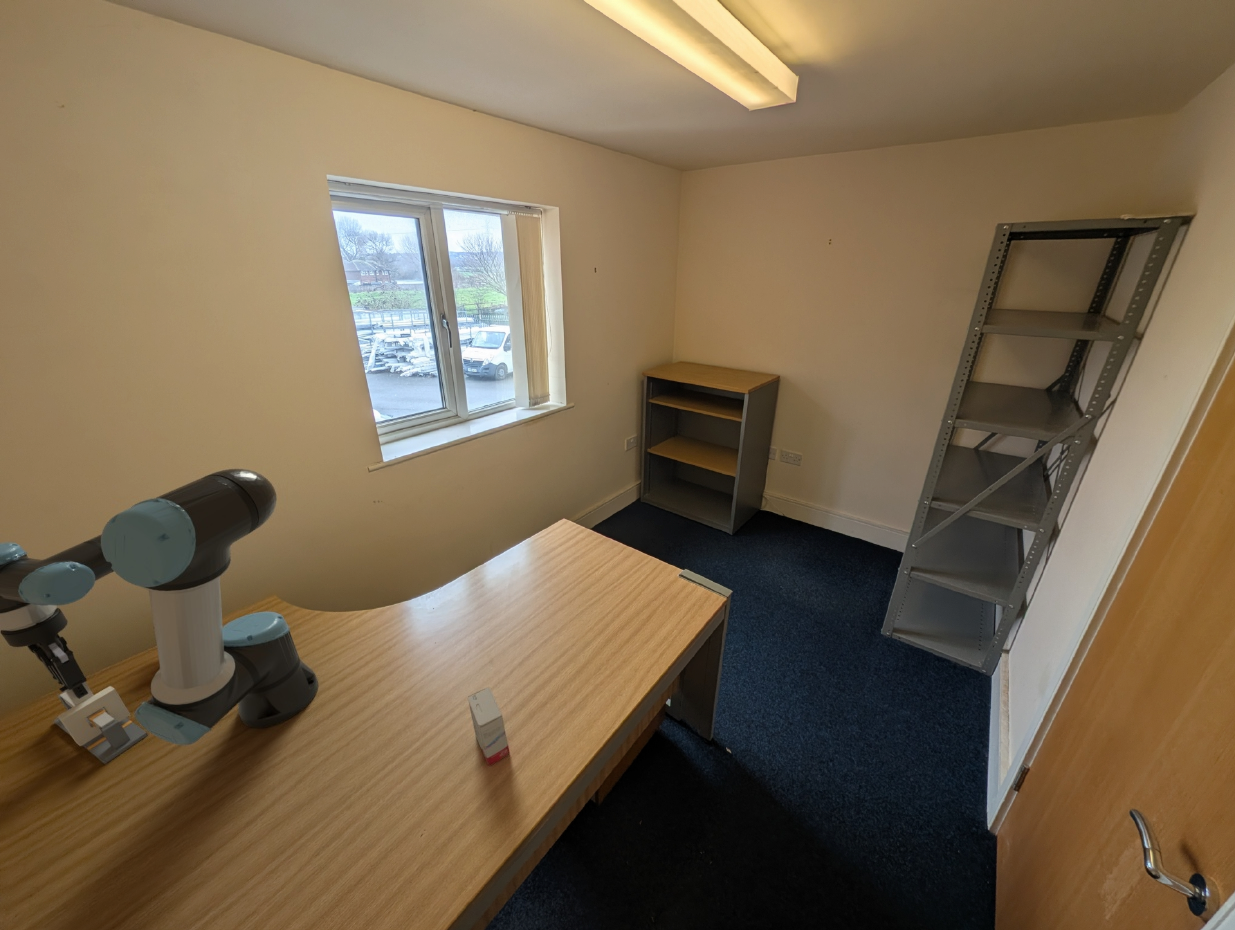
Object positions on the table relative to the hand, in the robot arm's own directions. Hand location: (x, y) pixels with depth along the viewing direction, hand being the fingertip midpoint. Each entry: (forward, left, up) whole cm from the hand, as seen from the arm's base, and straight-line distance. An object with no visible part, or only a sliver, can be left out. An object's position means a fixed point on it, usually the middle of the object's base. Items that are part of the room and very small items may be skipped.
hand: (87, 704), depth 96 cm
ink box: (-80, -32, -9) cm, 87 cm away
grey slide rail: (+2, 0, -8) cm, 8 cm away
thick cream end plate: (-2, 0, -6) cm, 7 cm away
